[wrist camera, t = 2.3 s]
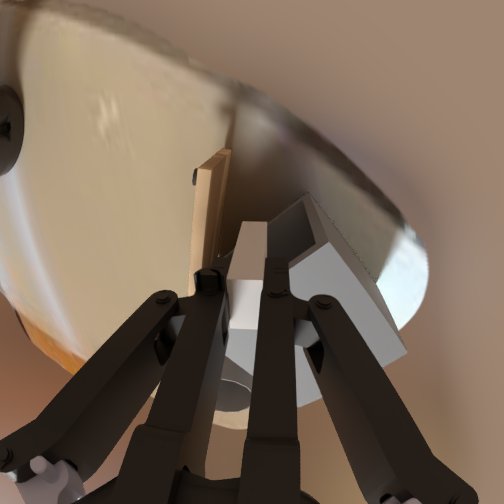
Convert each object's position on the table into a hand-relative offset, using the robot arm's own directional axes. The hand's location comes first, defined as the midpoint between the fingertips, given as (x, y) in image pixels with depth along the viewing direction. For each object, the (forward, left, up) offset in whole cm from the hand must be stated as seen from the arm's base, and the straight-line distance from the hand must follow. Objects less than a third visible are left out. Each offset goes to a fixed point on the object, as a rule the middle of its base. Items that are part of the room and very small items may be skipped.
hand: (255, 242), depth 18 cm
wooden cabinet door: (-1, -6, -15) cm, 16 cm away
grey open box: (+12, -4, -15) cm, 20 cm away
